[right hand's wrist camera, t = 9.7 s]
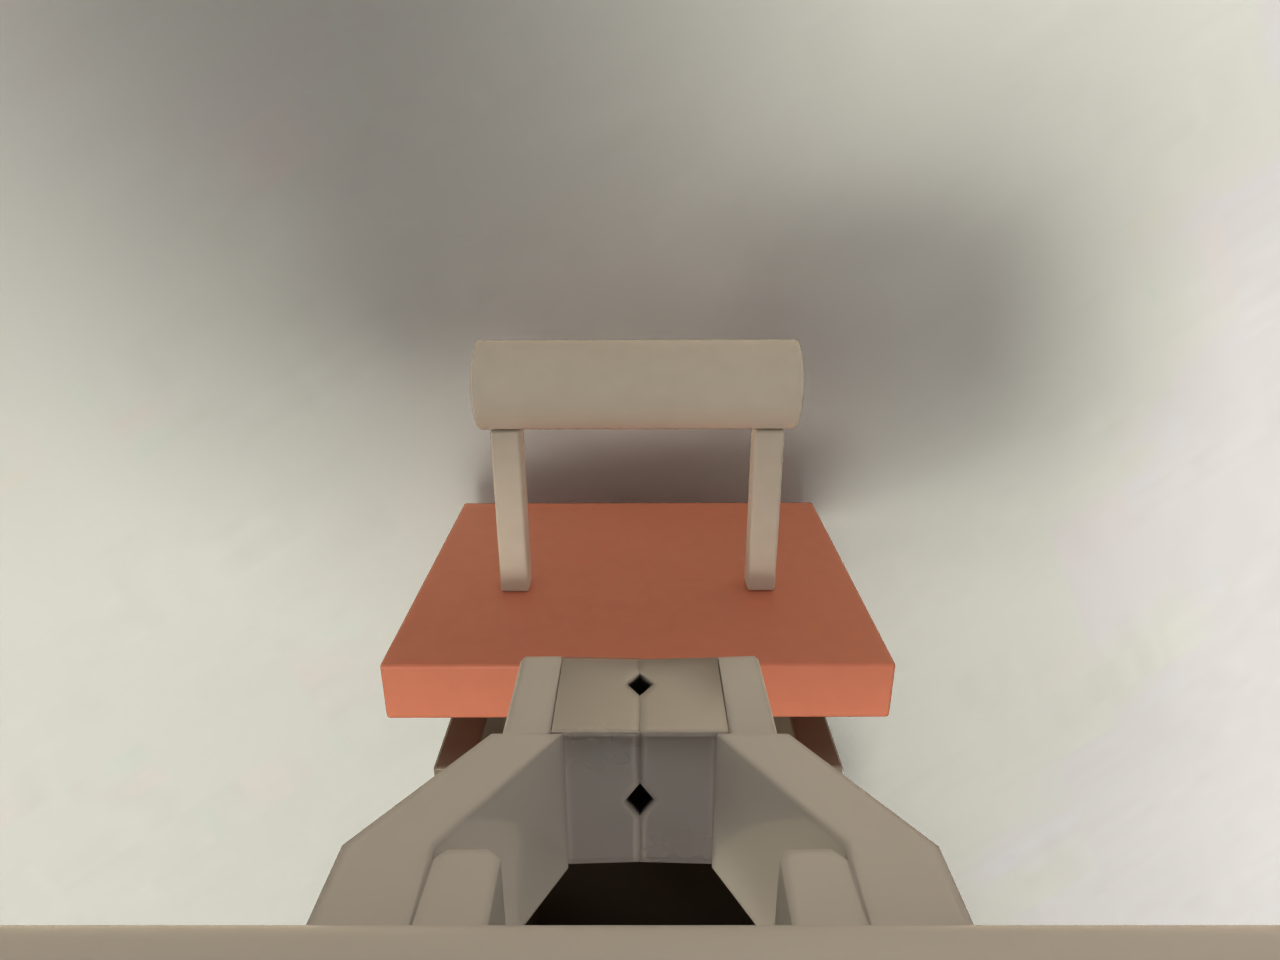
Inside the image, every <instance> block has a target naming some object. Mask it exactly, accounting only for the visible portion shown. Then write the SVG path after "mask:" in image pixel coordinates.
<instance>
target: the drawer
mask: <svg viewBox="0 0 1280 960" xmlns="http://www.w3.org/2000/svg"><path fill="white" fill-rule="evenodd" d="M470 392H471V403H472V410H473V415H474V419H475V422H476V424H477V426H478V428H480V429H492V430H491V433H490V440H491V454H492V468H493V482H494V496H495V503H484V504H465V505H464V507H463V508H462V510H461V512H460V514H459V516H458V518H457V520H456V522H455V524H454V526H453V528H452V529H451V531H450V533H449V535H448V537H447V539H446V541H445V543H444V545H443V547H442V549H441V551H440V552H439V554H438V556H437V558H436V560H435V562H434V564H433V566H432V568H431V570H430V572H429V573H428V575H427V577H426V579H425V581H424V583H423V585H422V587H421V589H420V591H419V593H418V594H417V596H416V598H415V600H414V602H413V604H412V606H411V608H410V610H409V612H408V614H407V616H406V617H405V619H404V621H403V623H402V625H401V627H400V629H399V631H398V633H397V635H396V637H395V638H394V640H393V642H392V644H391V646H390V648H389V650H388V652H387V654H386V656H385V658H384V660H383V661H382V663H381V666H380V668H381V675H382V682H383V690H384V697H385V704H386V711H387V716H388V717H390V718H438V717H451V720H450V723H449V726H448V728H447V731H446V734H445V737H444V740H443V743H442V746H441V749H440V752H439V755H438V757H437V760H436V763H435V766H434V774H435V776H436V775H437V774H438V773H440V772H441V771H442V770H444V769H445V768H446V767H448V766H449V765H450V764H452V763H453V762H454V761H456V760H457V759H458V758H460V757H461V756H462V755H464V754H465V753H466V752H468V751H469V750H470V749H472V748H473V747H474V746H476V745H477V744H478V743H480V742H481V741H482V740H484V739H485V738H486V737H488V736H489V735H490V734H503V730H504V726H505V722H506V718H507V714H508V710H509V706H510V702H511V698H512V695H513V691H514V687H515V683H516V679H517V675H518V671H519V667H520V663H521V661H522V660H523V658H524V657H529V656H561V657H562V658H564V657H611V658H640V659H671V658H711V657H735V656H755V657H756V658H758V660H759V664H760V667H761V671H762V675H763V679H764V683H765V687H766V691H767V695H768V699H769V703H770V707H771V711H772V715H773V719H774V723H775V727H776V731H777V734H790V735H791V736H792V737H794V738H795V739H796V740H798V741H799V742H800V743H802V744H803V745H804V746H806V747H807V748H808V749H810V750H811V751H812V752H814V753H815V754H816V755H818V756H819V757H820V758H822V759H823V760H824V761H826V762H827V763H828V764H830V765H831V766H832V767H833V768H835V769H836V770H837V771H839V772H840V773H841V774H842V764H841V761H840V758H839V755H838V753H837V750H836V747H835V744H834V741H833V738H832V735H831V732H830V729H829V726H828V723H827V720H826V717H874V716H888V714H889V709H890V701H891V694H892V686H893V678H894V670H895V663H894V661H893V659H892V657H891V655H890V653H889V652H888V650H887V648H886V646H885V644H884V642H883V640H882V638H881V636H880V634H879V632H878V630H877V628H876V626H875V624H874V622H873V621H872V619H871V617H870V615H869V613H868V611H867V609H866V607H865V605H864V603H863V601H862V599H861V597H860V595H859V593H858V591H857V590H856V588H855V586H854V584H853V582H852V580H851V578H850V576H849V574H848V572H847V570H846V568H845V566H844V564H843V562H842V560H841V559H840V557H839V555H838V553H837V551H836V549H835V547H834V545H833V543H832V541H831V539H830V537H829V535H828V533H827V531H826V530H825V528H824V526H823V524H822V522H821V520H820V518H819V516H818V514H817V512H816V510H815V508H814V506H813V504H812V503H780V497H781V481H782V466H783V450H784V434H785V433H784V431H783V429H792V428H795V427H796V426H797V425H798V423H799V420H800V416H801V411H802V405H803V395H804V365H803V356H802V350H801V347H800V344H799V342H798V341H797V340H795V339H748V340H479V341H477V342H476V343H475V345H474V348H473V352H472V357H471V367H470ZM523 429H752V432H751V452H750V473H749V493H748V503H528V502H527V485H526V467H525V449H524V431H523ZM525 925H755V923H754V922H753V921H752V919H751V918H750V917H749V915H748V914H747V913H746V911H745V910H744V909H743V908H742V906H741V905H740V904H739V902H738V901H737V900H736V898H735V897H734V896H733V894H732V893H731V892H730V890H729V889H728V888H727V887H726V885H725V884H724V883H723V881H722V880H721V879H720V877H719V876H718V875H717V873H716V872H715V871H714V870H713V868H712V864H699V863H664V862H615V863H580V864H568V869H567V870H566V872H565V873H564V874H563V876H562V877H561V878H560V879H559V881H558V882H557V883H556V885H555V886H554V887H553V889H552V890H551V891H550V893H549V894H548V895H547V896H546V898H545V899H544V900H543V902H542V903H541V904H540V906H539V907H538V908H537V909H536V911H535V912H534V913H533V915H532V916H531V917H530V919H529V920H528V921H527V922H526V924H525Z"/></svg>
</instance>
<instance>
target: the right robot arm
mask: <svg viewBox="0 0 1280 960" xmlns="http://www.w3.org/2000/svg"><path fill="white" fill-rule="evenodd" d="M615 862H664V863H699V864H712V868H713V870H714V871H715V872H716V873H717V875H718V876H719V877H720V879H721V880H722V881H723V883H724V884H725V885H726V887H727V888H728V889H729V890H730V892H731V893H732V894H733V896H734V897H735V898H736V900H737V901H738V902H739V904H740V905H741V906H742V908H743V909H744V910H745V911H746V913H747V914H748V915H749V917H750V918H751V919H752V921H753V922H754V923H755V925H525V924H526V922H527V921H528V920H529V919H530V917H531V916H532V915H533V913H534V912H535V911H536V909H537V908H538V907H539V906H540V904H541V903H542V902H543V900H544V899H545V898H546V896H547V895H548V894H549V893H550V891H551V890H552V889H553V887H554V886H555V885H556V883H557V882H558V881H559V879H560V878H561V877H562V876H563V874H564V873H565V872H566V870H567V869H568V864H580V863H615ZM0 960H1280V925H974V924H973V922H972V920H971V918H970V915H969V913H968V911H967V909H966V907H965V904H964V902H963V900H962V898H961V895H960V893H959V891H958V889H957V886H956V884H955V882H954V880H953V878H952V875H951V873H950V871H949V869H948V866H947V864H946V862H945V860H944V857H943V855H942V853H941V851H940V848H939V847H938V846H937V845H936V844H934V843H933V842H932V841H930V840H929V839H928V838H926V837H925V836H924V835H922V834H921V833H920V832H919V831H917V830H916V829H915V828H913V827H912V826H911V825H909V824H908V823H907V822H905V821H904V820H903V819H901V818H900V817H899V816H897V815H896V814H895V813H893V812H892V811H891V810H889V809H888V808H887V807H885V806H884V805H883V804H881V803H880V802H879V801H877V800H876V799H875V798H873V797H872V796H871V795H869V794H868V793H867V792H865V791H864V790H863V789H861V788H860V787H859V786H857V785H856V784H855V783H853V782H852V781H851V780H849V779H848V778H847V777H845V776H844V775H843V774H841V773H840V772H839V771H837V770H836V769H835V768H833V767H832V766H831V765H830V764H828V763H827V762H826V761H824V760H823V759H822V758H820V757H819V756H818V755H816V754H815V753H814V752H812V751H811V750H810V749H808V748H807V747H806V746H804V745H803V744H802V743H800V742H799V741H798V740H796V739H795V738H794V737H792V736H791V735H790V734H777V731H776V727H775V723H774V719H773V715H772V711H771V707H770V703H769V699H768V695H767V691H766V687H765V683H764V679H763V675H762V671H761V667H760V664H759V660H758V658H756V657H755V656H735V657H711V658H671V659H640V658H611V657H564V658H562V657H561V656H529V657H524V658H523V660H522V661H521V663H520V667H519V671H518V675H517V679H516V683H515V687H514V691H513V695H512V698H511V702H510V706H509V710H508V714H507V718H506V722H505V726H504V730H503V734H490V735H489V736H488V737H486V738H485V739H484V740H482V741H481V742H480V743H478V744H477V745H476V746H474V747H473V748H472V749H470V750H469V751H468V752H466V753H465V754H464V755H462V756H461V757H460V758H458V759H457V760H456V761H454V762H453V763H452V764H450V765H449V766H448V767H446V768H445V769H444V770H442V771H441V772H440V773H438V774H437V775H436V776H434V777H433V778H432V779H430V780H429V781H428V782H426V783H425V784H424V785H422V786H421V787H420V788H418V789H417V790H416V791H414V792H413V793H412V794H410V795H409V796H408V797H406V798H405V799H404V800H402V801H401V802H400V803H398V804H397V805H396V806H394V807H393V808H392V809H390V810H389V811H388V812H386V813H385V814H384V815H382V816H381V817H380V818H378V819H377V820H376V821H374V822H373V823H372V824H370V825H369V826H368V827H366V828H365V829H364V830H362V831H361V832H360V833H358V834H357V835H356V836H354V837H353V838H352V839H350V840H349V841H348V842H346V843H345V844H344V845H342V847H341V849H340V852H339V854H338V856H337V858H336V860H335V863H334V865H333V867H332V869H331V871H330V874H329V876H328V878H327V880H326V882H325V885H324V887H323V889H322V891H321V893H320V896H319V898H318V900H317V902H316V904H315V907H314V909H313V911H312V913H311V915H310V918H309V920H308V922H307V924H306V925H0Z"/></svg>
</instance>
